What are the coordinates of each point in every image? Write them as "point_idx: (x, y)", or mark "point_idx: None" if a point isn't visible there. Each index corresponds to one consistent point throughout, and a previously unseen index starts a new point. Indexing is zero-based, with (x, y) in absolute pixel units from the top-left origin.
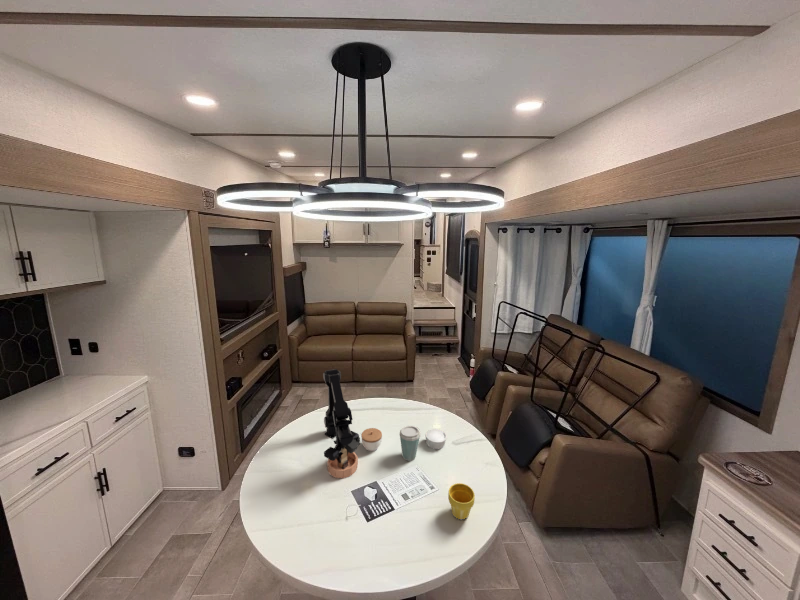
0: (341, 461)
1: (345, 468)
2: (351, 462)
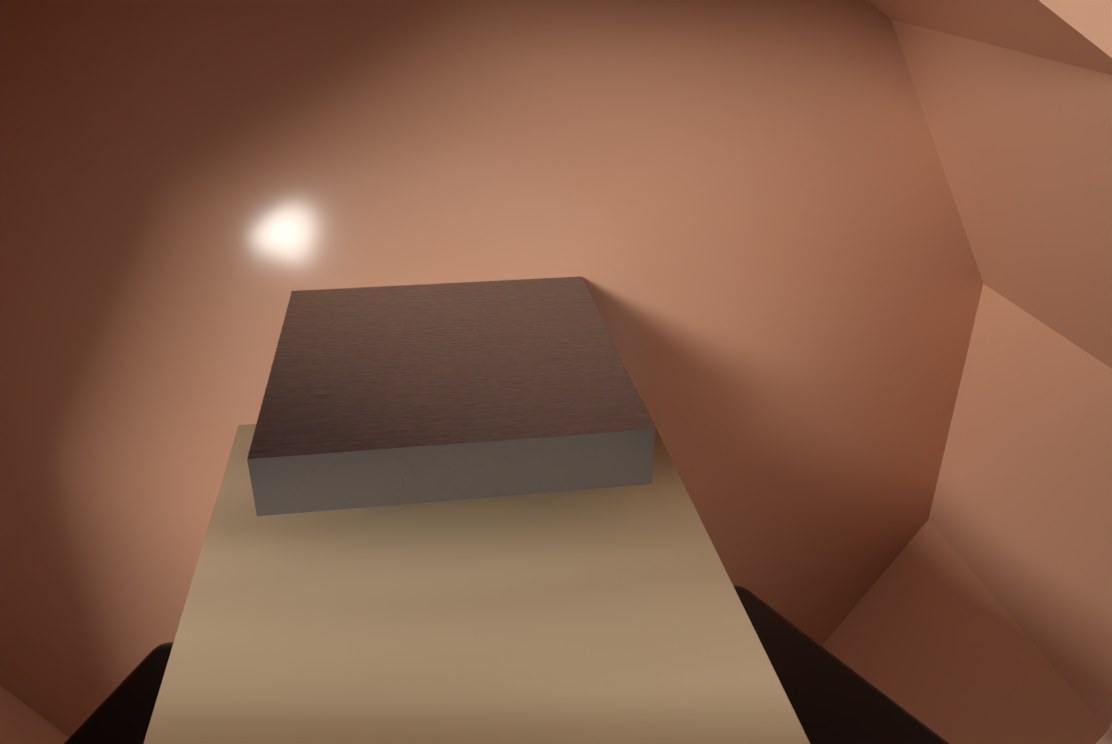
0: (753, 627)
1: (490, 270)
2: (27, 312)
